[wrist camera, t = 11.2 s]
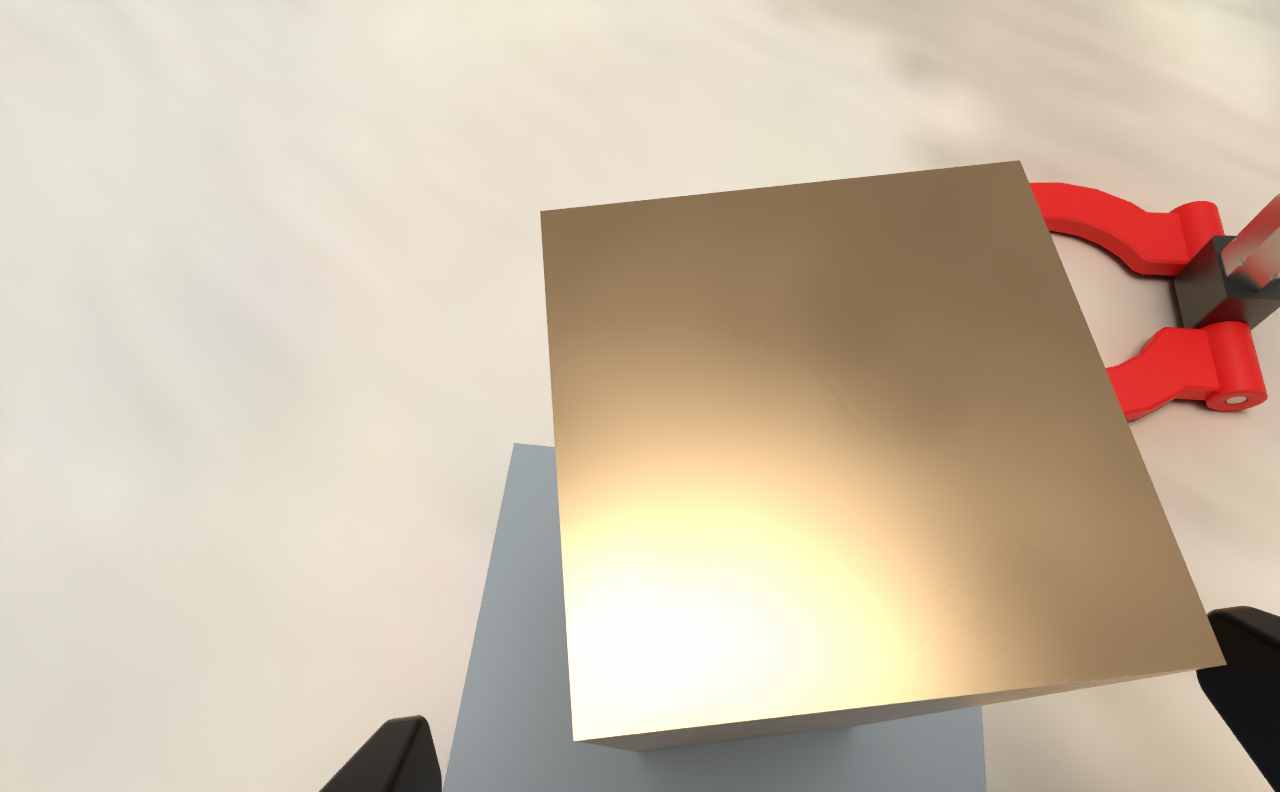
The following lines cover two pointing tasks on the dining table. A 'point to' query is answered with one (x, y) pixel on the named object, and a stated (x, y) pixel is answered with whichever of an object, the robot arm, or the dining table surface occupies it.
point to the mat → (657, 779)
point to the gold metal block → (842, 464)
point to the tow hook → (1184, 293)
